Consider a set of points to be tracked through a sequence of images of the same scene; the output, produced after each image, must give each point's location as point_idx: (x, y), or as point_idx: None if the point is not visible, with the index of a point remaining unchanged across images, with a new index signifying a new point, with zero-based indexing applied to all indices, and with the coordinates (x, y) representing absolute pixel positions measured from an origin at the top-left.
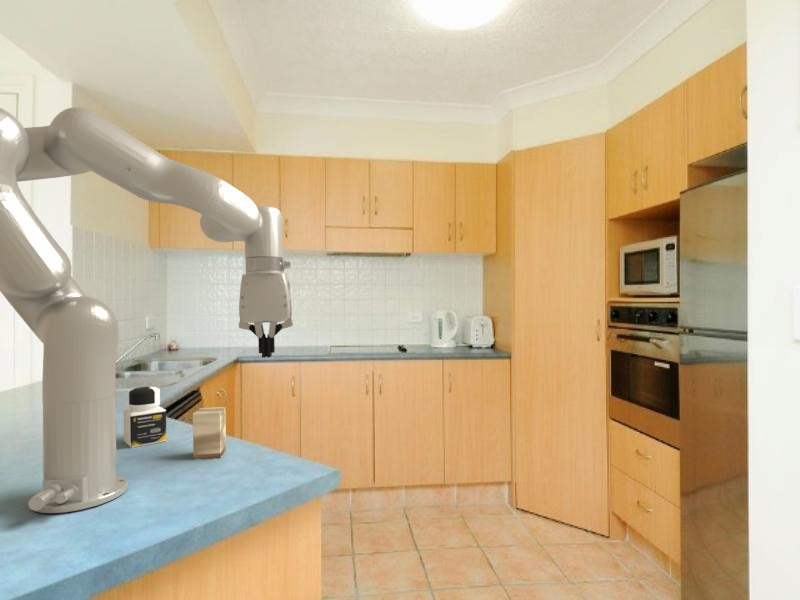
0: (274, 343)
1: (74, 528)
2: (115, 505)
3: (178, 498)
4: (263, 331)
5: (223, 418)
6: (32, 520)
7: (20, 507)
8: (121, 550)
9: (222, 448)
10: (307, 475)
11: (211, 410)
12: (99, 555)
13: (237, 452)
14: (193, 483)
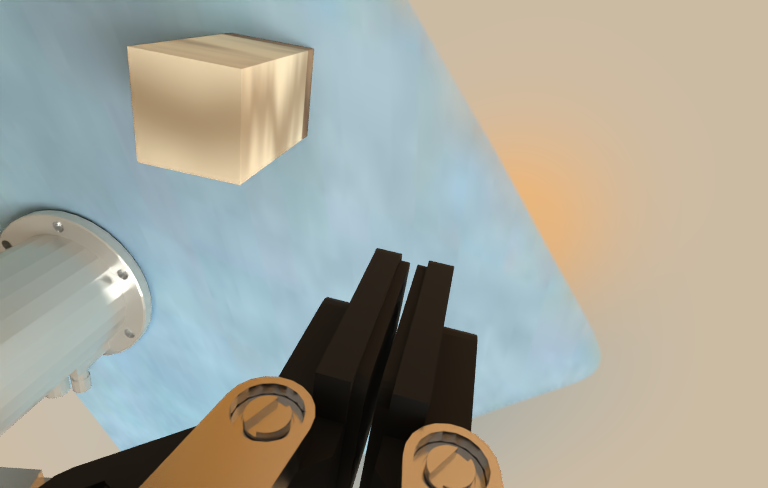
0: (473, 389)
1: (145, 400)
2: (164, 346)
3: (264, 364)
4: (285, 484)
5: (260, 107)
6: None
7: None
8: None
9: (301, 108)
10: (532, 368)
11: (195, 128)
12: None
13: (355, 92)
14: (274, 303)
